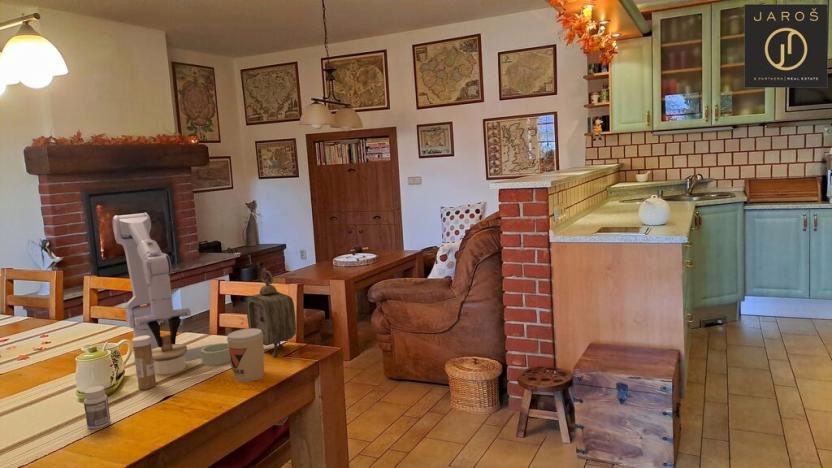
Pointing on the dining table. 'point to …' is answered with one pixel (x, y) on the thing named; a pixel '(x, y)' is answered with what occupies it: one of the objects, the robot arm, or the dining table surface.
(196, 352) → the slate mat
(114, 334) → the dining table surface
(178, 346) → the lid
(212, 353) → the sage bowl
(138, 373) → the sprinkles bottle
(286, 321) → the tabletop clock
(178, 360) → the cream bowl
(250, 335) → the coffee cup
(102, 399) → the pill bottle
